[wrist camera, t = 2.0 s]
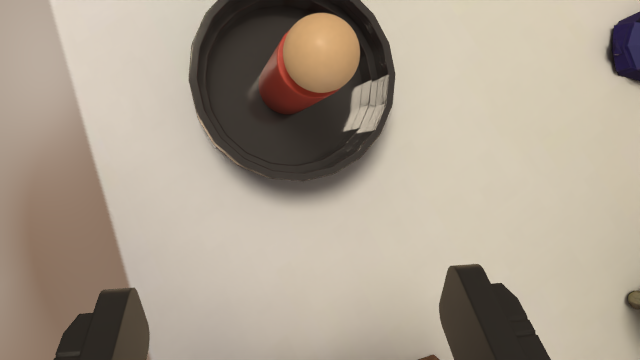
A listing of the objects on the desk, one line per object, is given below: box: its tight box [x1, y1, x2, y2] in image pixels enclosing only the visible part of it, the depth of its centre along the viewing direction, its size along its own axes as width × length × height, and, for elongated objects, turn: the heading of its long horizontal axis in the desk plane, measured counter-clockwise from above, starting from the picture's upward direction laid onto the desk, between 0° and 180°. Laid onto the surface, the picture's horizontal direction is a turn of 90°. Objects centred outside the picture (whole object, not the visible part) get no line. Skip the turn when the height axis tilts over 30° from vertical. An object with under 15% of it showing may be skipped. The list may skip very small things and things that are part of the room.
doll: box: [259, 13, 360, 115], centre depth 28 cm, size 4×4×12 cm
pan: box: [189, 0, 395, 181], centre depth 32 cm, size 13×13×4 cm
